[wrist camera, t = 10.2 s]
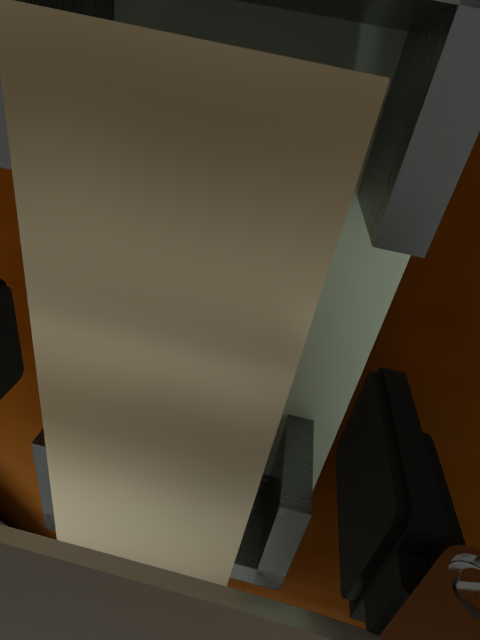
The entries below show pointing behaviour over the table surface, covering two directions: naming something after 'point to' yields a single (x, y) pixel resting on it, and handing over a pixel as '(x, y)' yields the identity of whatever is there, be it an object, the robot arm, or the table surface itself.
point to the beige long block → (170, 265)
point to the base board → (354, 242)
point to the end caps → (377, 208)
